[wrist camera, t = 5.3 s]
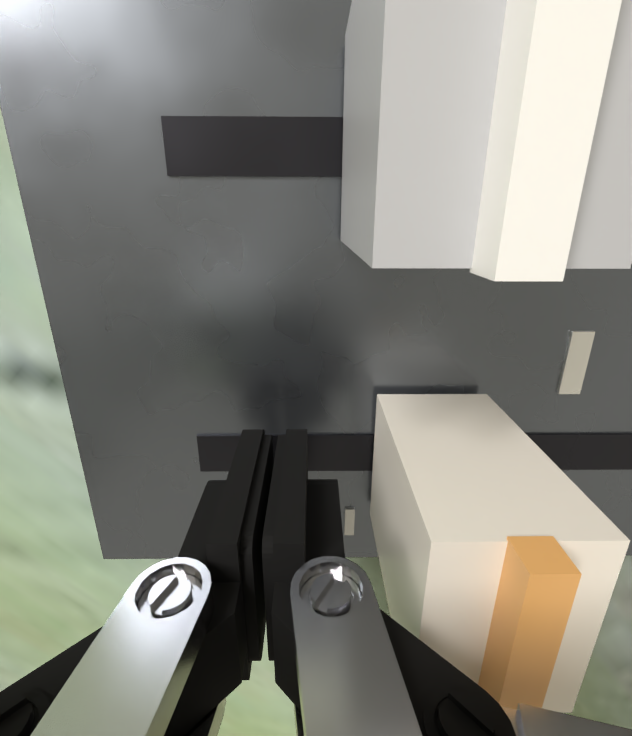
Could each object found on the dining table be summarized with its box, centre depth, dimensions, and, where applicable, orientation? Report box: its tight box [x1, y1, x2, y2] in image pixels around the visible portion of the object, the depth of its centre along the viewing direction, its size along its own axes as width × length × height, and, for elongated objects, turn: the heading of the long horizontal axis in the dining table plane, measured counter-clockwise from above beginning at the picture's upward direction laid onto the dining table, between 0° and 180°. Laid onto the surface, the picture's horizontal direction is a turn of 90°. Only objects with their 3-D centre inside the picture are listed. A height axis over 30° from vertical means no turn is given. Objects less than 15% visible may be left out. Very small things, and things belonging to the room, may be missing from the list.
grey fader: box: [341, 0, 632, 281], centre depth 6 cm, size 4×3×6 cm
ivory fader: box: [370, 394, 630, 713], centre depth 9 cm, size 4×3×6 cm
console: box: [0, 0, 632, 559], centre depth 12 cm, size 16×24×2 cm, turn 90°
